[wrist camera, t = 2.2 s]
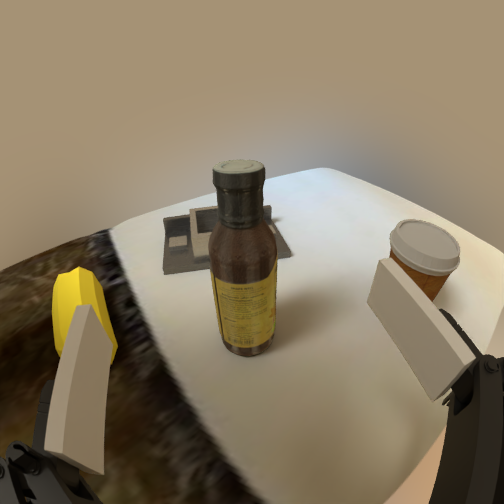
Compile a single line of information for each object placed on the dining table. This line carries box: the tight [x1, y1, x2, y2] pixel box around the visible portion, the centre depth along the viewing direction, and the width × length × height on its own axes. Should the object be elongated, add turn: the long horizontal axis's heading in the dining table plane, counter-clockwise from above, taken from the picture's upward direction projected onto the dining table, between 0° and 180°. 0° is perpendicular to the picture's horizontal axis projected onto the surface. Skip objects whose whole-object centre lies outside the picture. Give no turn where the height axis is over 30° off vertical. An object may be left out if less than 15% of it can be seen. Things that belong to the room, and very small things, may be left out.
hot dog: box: [52, 267, 118, 364], centre depth 29 cm, size 18×7×8 cm
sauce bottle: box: [208, 160, 278, 356], centre depth 26 cm, size 6×6×20 cm
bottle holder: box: [163, 205, 290, 275], centre depth 46 cm, size 20×12×5 cm, turn 103°
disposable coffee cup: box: [389, 219, 460, 302], centre depth 30 cm, size 10×10×12 cm
